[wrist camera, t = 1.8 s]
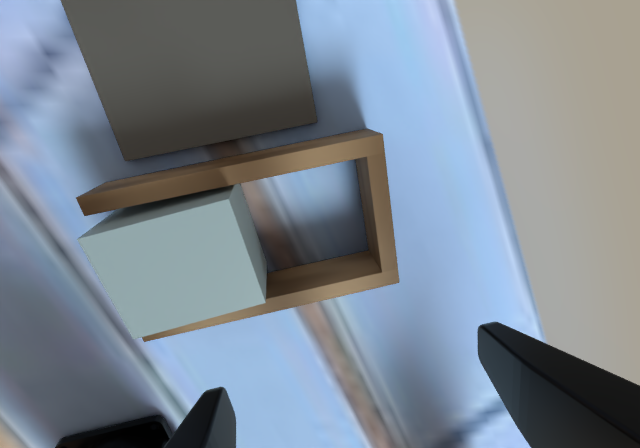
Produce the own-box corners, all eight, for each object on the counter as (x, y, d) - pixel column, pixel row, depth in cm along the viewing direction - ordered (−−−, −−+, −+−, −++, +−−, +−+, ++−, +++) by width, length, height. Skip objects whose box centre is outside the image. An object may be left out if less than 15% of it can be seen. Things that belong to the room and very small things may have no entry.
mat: (128, 159, 16) (125, 161, 16) (59, -16, 13) (53, -19, 13) (316, 121, 16) (317, 122, 16) (284, -55, 14) (285, -60, 13)
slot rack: (160, 310, 19) (144, 341, 16) (105, 182, 16) (75, 197, 14) (383, 259, 20) (399, 282, 17) (367, 128, 17) (382, 133, 14)
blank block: (161, 291, 19) (133, 339, 15) (120, 207, 17) (77, 239, 13) (267, 261, 19) (265, 302, 15) (238, 176, 17) (228, 198, 13)
